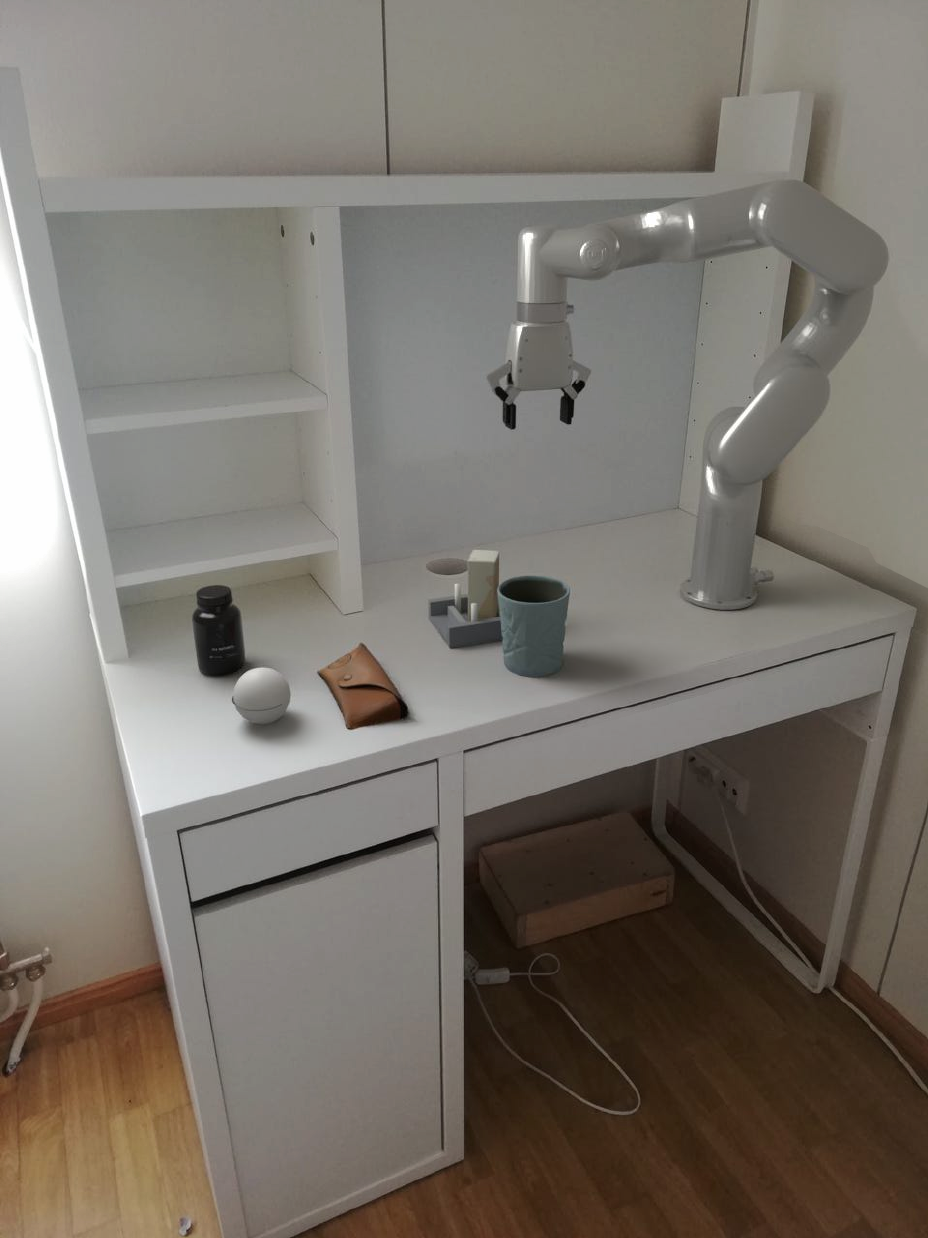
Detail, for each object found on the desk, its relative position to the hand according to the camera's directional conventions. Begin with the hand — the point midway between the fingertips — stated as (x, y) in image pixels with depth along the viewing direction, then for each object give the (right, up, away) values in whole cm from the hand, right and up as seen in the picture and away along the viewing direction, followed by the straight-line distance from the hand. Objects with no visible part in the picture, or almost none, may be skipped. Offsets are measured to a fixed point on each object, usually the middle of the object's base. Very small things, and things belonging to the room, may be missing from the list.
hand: (538, 425), depth 146 cm
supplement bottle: (-47, -38, -14) cm, 62 cm away
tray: (-9, -32, -2) cm, 34 cm away
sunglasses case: (-26, -42, -21) cm, 54 cm away
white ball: (-39, -45, -28) cm, 66 cm away
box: (-9, -32, -2) cm, 33 cm away
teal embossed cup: (-2, -38, -13) cm, 40 cm away
